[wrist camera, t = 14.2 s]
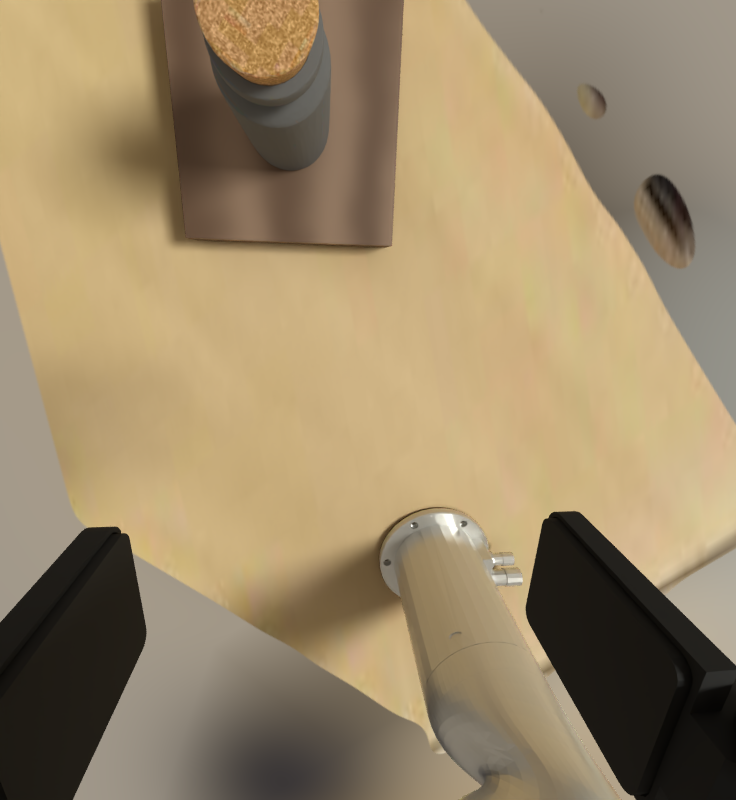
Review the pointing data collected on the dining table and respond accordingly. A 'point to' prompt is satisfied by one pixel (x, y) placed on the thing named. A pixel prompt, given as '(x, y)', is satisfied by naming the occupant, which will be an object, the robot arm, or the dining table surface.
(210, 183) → the base
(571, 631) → the robot arm
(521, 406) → the dining table surface
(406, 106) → the dining table surface
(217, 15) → the bottle
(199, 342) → the dining table surface
